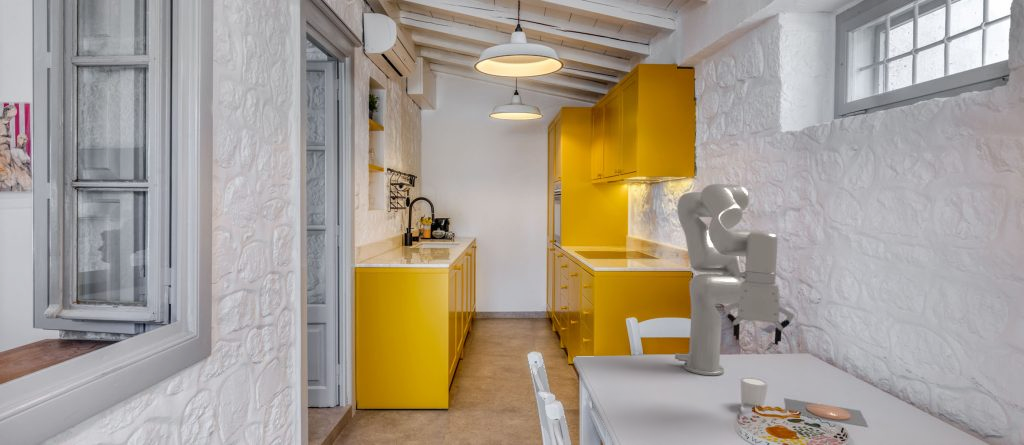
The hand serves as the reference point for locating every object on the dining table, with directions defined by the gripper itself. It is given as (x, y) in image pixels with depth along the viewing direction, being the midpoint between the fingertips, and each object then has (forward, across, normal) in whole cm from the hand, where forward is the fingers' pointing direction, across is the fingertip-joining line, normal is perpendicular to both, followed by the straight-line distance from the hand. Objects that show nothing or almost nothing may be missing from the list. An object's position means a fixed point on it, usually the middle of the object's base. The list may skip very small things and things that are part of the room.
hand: (756, 341), depth 149 cm
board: (+18, +17, +1) cm, 25 cm away
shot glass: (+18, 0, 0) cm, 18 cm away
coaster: (+16, +18, +1) cm, 24 cm away
